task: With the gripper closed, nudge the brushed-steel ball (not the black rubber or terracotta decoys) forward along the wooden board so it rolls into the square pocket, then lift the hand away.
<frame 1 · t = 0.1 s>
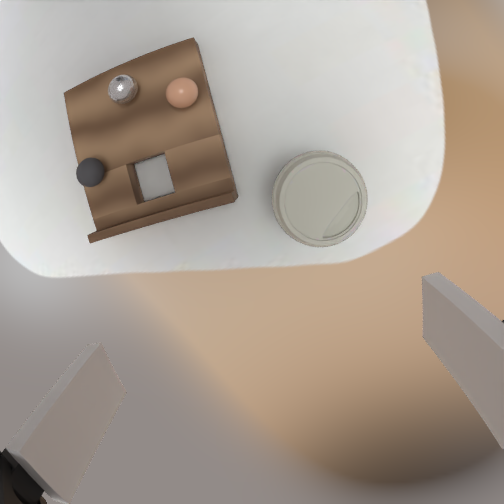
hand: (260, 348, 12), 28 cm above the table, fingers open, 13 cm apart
wooden board: (146, 138, 36), on the table
coffee cup: (305, 188, 38), on the table
black ball: (90, 172, 33), point 4 cm above the table, touching wooden board
clay ball: (181, 92, 31), point 4 cm above the table, touching wooden board
steel ball: (122, 89, 31), point 4 cm above the table, touching wooden board
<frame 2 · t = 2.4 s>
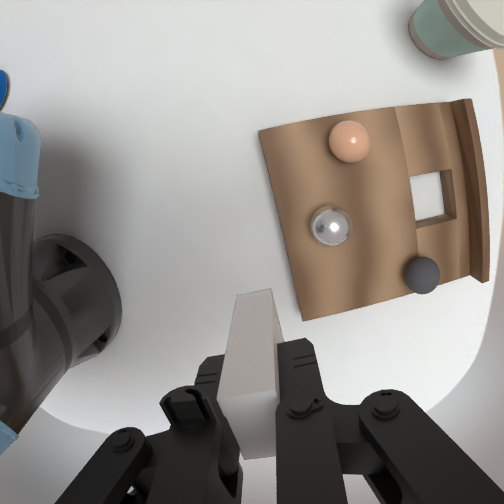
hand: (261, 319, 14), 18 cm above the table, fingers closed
wooden board: (380, 204, 30), on the table
coffee cup: (430, 35, 24), on the table
black ball: (422, 275, 27), point 4 cm above the table, touching wooden board
clay ball: (350, 141, 24), point 4 cm above the table, touching wooden board
steel ball: (331, 226, 26), point 4 cm above the table, touching wooden board
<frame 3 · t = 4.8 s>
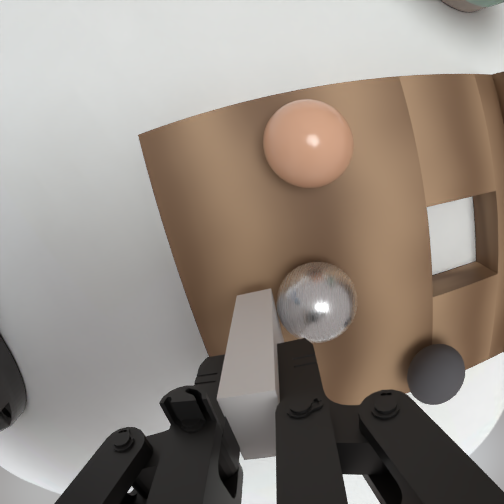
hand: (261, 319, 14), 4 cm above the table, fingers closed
wooden board: (372, 252, 17), on the table
black ball: (436, 374, 15), point 4 cm above the table, touching wooden board
clay ball: (308, 143, 12), point 4 cm above the table, touching wooden board
steel ball: (316, 302, 14), point 4 cm above the table, tilted 64°, touching wooden board
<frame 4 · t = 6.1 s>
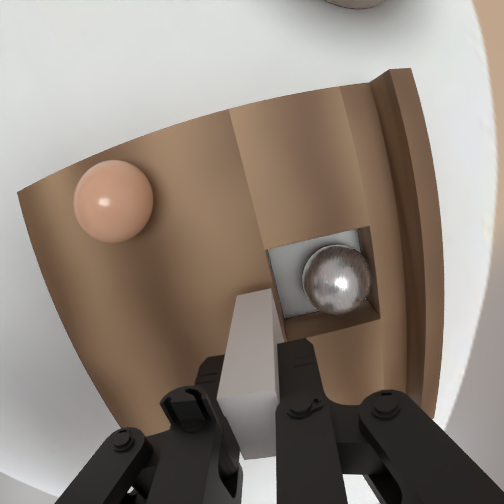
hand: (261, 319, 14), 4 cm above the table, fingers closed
wooden board: (230, 290, 18), on the table
clay ball: (112, 201, 13), point 4 cm above the table, touching wooden board
steel ball: (336, 279, 16), point 2 cm above the table, tilted 52°
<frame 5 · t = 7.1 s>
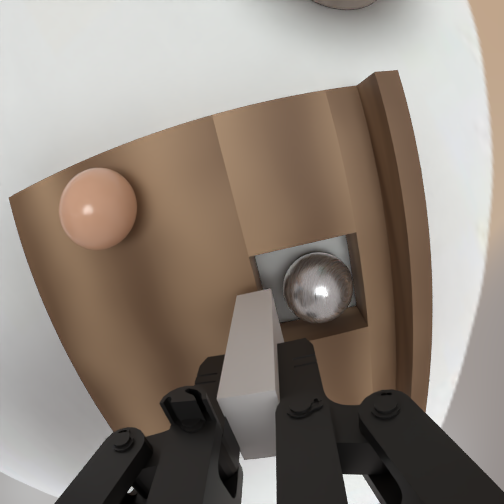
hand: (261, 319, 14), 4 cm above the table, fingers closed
wooden board: (218, 295, 18), on the table
clay ball: (97, 208, 12), point 4 cm above the table, touching wooden board
steel ball: (318, 287, 16), point 2 cm above the table, tilted 43°
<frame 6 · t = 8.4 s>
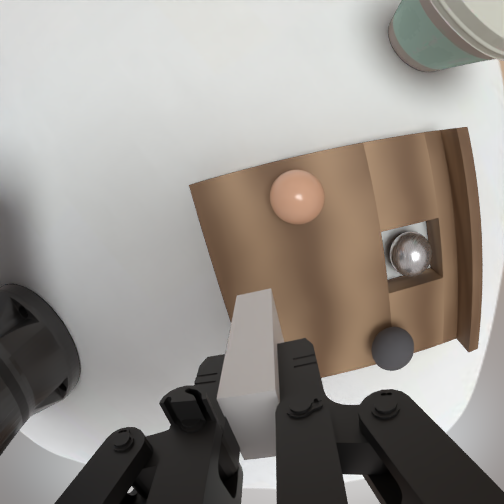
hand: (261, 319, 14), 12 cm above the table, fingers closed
wooden board: (347, 261, 25), on the table
coffee cup: (418, 41, 20), on the table
black ball: (392, 348, 23), point 4 cm above the table, touching wooden board
clay ball: (297, 197, 20), point 4 cm above the table, touching wooden board
steel ball: (410, 254, 23), point 2 cm above the table, tilted 31°
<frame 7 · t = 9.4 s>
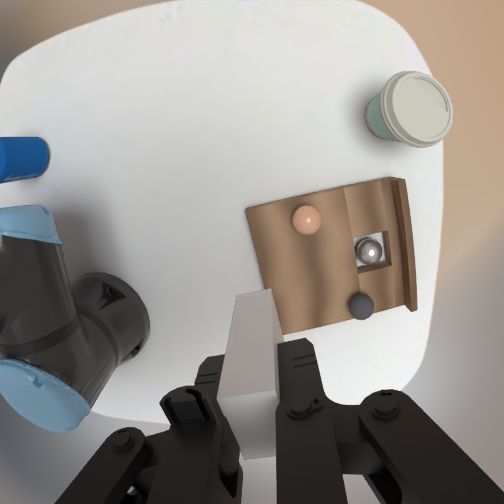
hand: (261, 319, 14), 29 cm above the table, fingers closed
wooden board: (333, 255, 43), on the table
beverage can: (37, 157, 41), on the table
coffee cup: (383, 118, 38), on the table
black ball: (361, 306, 41), point 4 cm above the table, touching wooden board
clay ball: (307, 220, 38), point 4 cm above the table, touching wooden board
steel ball: (369, 251, 41), point 2 cm above the table, tilted 22°
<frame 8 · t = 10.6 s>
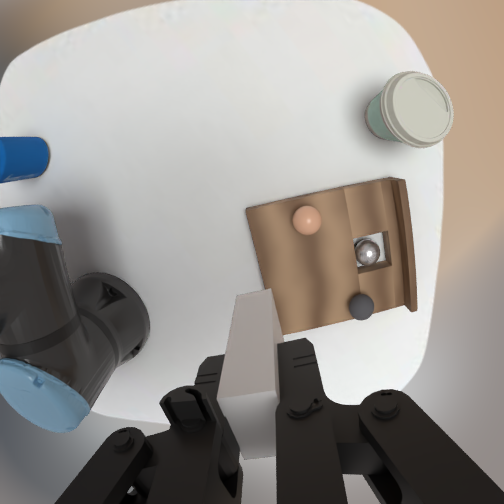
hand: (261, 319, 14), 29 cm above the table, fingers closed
wooden board: (333, 255, 43), on the table
beverage can: (37, 157, 41), on the table
coffee cup: (384, 118, 38), on the table
black ball: (361, 307, 41), point 4 cm above the table, touching wooden board
clay ball: (307, 220, 38), point 4 cm above the table, touching wooden board
steel ball: (367, 252, 41), point 2 cm above the table, tilted 12°
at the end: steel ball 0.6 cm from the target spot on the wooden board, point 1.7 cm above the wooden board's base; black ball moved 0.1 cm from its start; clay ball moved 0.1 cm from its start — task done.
